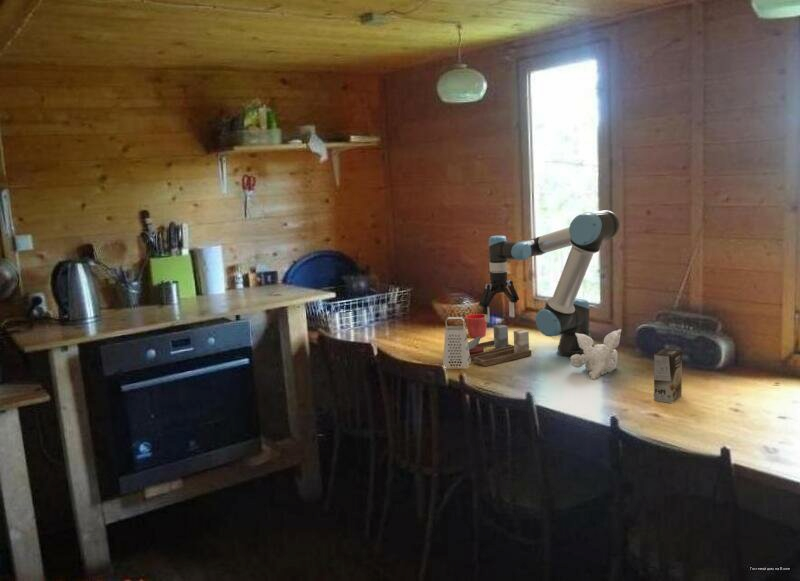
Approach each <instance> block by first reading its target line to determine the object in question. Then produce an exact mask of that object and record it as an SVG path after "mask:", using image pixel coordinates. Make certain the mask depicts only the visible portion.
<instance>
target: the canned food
mask: <svg viewBox="0 0 800 581" xmlns="http://www.w3.org/2000/svg"><path fill="white" fill-rule="evenodd" d="M481 339H482V337H481V336H479V337H477V338H474V339H472V340H470V341H468V346H469V352H470V355H473V354H477V353H482V352H485V347H481V346H476V345H477V344H478V343H480V342H481Z"/></svg>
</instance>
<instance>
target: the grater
mask: <svg viewBox="0 0 800 581" xmlns="http://www.w3.org/2000/svg"><path fill="white" fill-rule="evenodd" d="M448 320H461V321H463V325H448ZM444 323H445V330H444V345H443V357H442V358H443V359H442V366H443V365H445V367H458V368H457V369H468V368H467V367H469V368H470V365H471V362H472V360H471V358H469V356H470V352H469V346H468V342H469V341H468V335H467V327H466V324H465V323H466V322H465V317H463V316H448V317H447V318H446V319H445V322H444ZM468 359H469V361H468ZM454 360H455V361H454ZM470 361H471V362H470ZM469 364H470V365H469ZM460 367H461V368H460ZM462 367H463V368H462ZM464 367H466V368H464Z"/></svg>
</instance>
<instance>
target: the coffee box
mask: <svg viewBox="0 0 800 581" xmlns="http://www.w3.org/2000/svg"><path fill="white" fill-rule="evenodd" d="M653 355H654V356H653V357H654V358H653V359H654V360H653V363H654V364H653V365H654V366H653V368H654V369H653V370H654V371H653V372H654V374H653V378H654V379H653V400H654V401H656V402H662V403H667V404H674V402H676V401H677V400H678V399H680V398H681V397H682V395H683V394H682V391H683V389H682V388H683V387H682V384H683V374H682V373H683V370H682V369H683V350H680V349H674V348H672V349H671V348H670V349H669V348H663V349H661V350H660V351H658V352H656V353H654V354H653Z"/></svg>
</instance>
